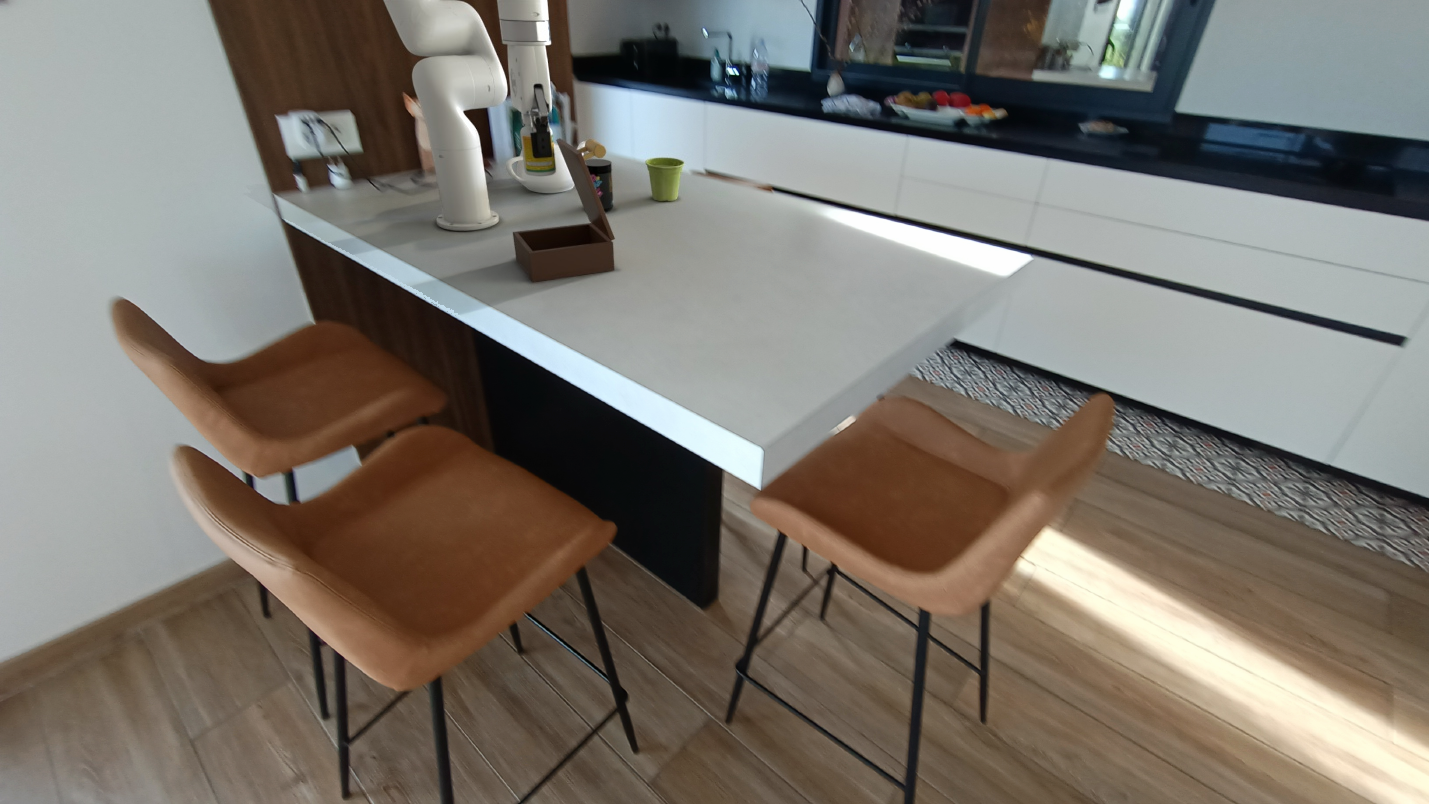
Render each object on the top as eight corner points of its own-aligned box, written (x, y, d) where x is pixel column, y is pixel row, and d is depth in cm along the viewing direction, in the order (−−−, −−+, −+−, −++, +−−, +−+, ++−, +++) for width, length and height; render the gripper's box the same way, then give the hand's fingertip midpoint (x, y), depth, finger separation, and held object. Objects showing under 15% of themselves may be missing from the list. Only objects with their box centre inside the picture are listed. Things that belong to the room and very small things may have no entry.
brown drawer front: (577, 154, 108) (608, 140, 109) (556, 139, 117) (585, 127, 118) (611, 240, 118) (639, 227, 119) (589, 221, 127) (615, 208, 128)
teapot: (530, 203, 154) (523, 148, 148) (492, 190, 163) (484, 137, 156) (610, 185, 170) (608, 135, 164) (572, 173, 179) (568, 125, 172)
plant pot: (691, 197, 163) (692, 161, 159) (669, 206, 157) (669, 168, 152) (661, 191, 167) (660, 155, 163) (638, 199, 161) (637, 162, 156)
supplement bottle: (520, 171, 116) (513, 112, 111) (550, 168, 118) (544, 110, 113) (530, 178, 112) (523, 117, 107) (560, 175, 115) (555, 115, 110)
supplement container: (582, 205, 154) (578, 159, 149) (610, 204, 156) (608, 158, 151) (587, 214, 149) (584, 166, 143) (616, 212, 151) (614, 165, 145)
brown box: (532, 282, 115) (529, 253, 112) (516, 259, 124) (512, 231, 121) (614, 270, 121) (613, 242, 118) (593, 249, 130) (591, 222, 127)
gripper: (491, 29, 109) (506, 145, 119) (512, 37, 96) (527, 166, 106) (537, 30, 112) (548, 142, 121) (563, 37, 99) (573, 163, 109)
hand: (538, 152), depth 113 cm, fingers closed on supplement bottle, 5 cm apart
